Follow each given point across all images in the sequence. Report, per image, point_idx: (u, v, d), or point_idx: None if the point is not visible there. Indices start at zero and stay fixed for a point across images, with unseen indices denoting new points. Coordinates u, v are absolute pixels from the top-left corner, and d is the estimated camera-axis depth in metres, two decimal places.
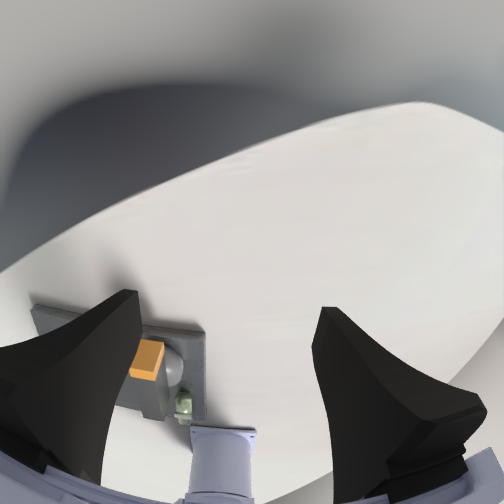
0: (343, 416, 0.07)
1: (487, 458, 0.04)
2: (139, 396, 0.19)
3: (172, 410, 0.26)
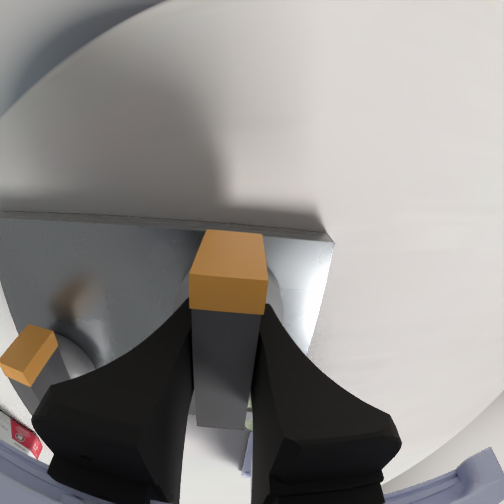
0: (257, 418, 0.07)
1: (487, 458, 0.04)
2: (200, 372, 0.08)
3: None
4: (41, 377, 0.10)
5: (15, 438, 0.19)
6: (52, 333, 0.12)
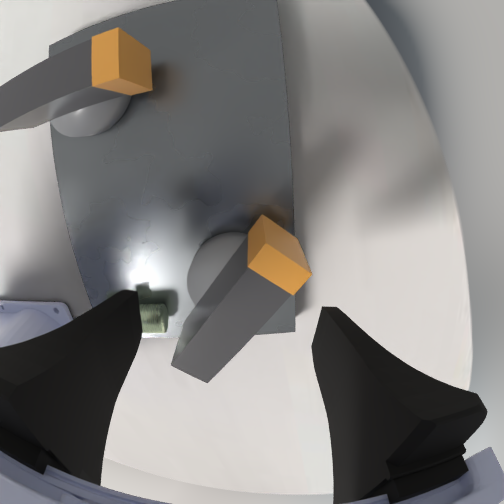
0: (343, 416, 0.07)
1: (487, 458, 0.04)
2: (214, 319, 0.10)
3: (101, 288, 0.15)
4: (98, 91, 0.08)
5: None
6: (150, 90, 0.10)
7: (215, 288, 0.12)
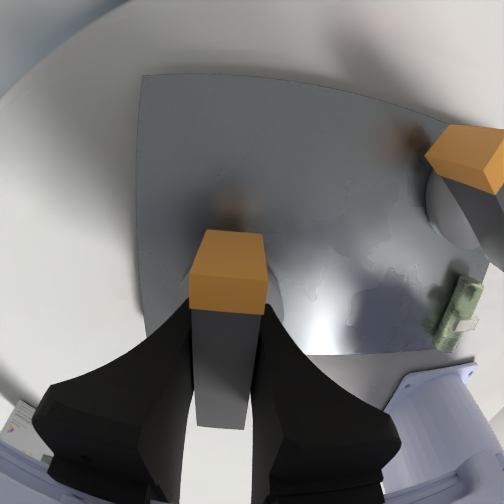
0: (257, 418, 0.07)
1: (487, 458, 0.04)
2: None
3: (420, 334, 0.14)
4: None
5: None
6: None
7: (482, 224, 0.08)
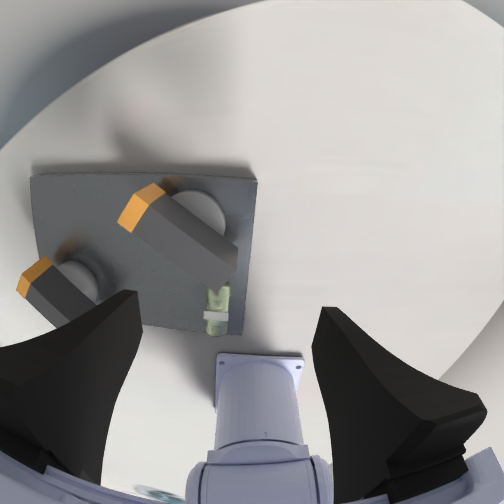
0: (343, 416, 0.07)
1: (487, 458, 0.04)
2: (169, 255, 0.15)
3: (198, 319, 0.22)
4: (40, 280, 0.17)
5: None
6: (44, 256, 0.18)
7: None
